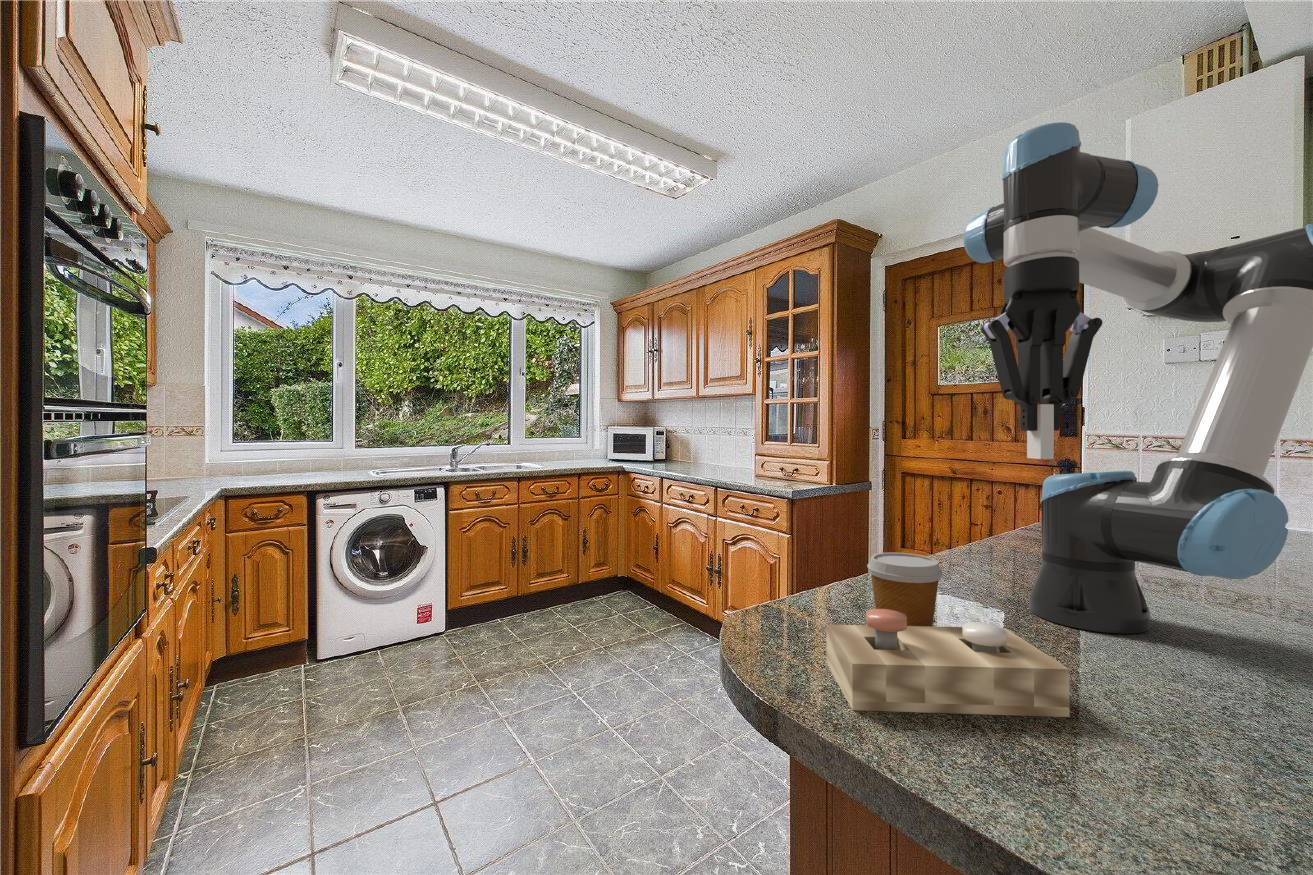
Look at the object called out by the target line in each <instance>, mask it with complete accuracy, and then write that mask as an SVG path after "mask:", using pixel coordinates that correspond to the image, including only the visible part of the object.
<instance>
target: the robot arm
mask: <svg viewBox="0 0 1313 875" xmlns="http://www.w3.org/2000/svg"><path fill="white" fill-rule="evenodd" d="M1081 146H1082V142H1081V138H1080V131H1079V129H1078V128H1077V127H1076V125H1075V124H1073V123H1069V122H1050V123H1046V124H1043V125H1042V124H1041V125H1038V126H1035V127H1032V128H1029V129H1028V130H1025V131H1024V132H1023V133H1020V134H1019V135H1017V136H1015V138H1013V139H1012V140H1011V141H1010V142H1009V143H1008V144H1007V146H1006V148H1005V151H1004V158H1003V169H1002V170H1003V172H1002V176H1001V180H1002V186H1003V189H1002V190H1003V191H1002V192H1003V202H1002V203H1001V204H998V205H995V206H992V207H989V209H988V210H986V211H984V212H982V213H980V214H978V215H976V216H974V217H973V218H972V219H970V220H969V221H968V222H967V224H966V226H965V228H964V233H963V238H962V239H963V240H962V241H963V247H964V250H965V252H966V253H967V255H968V256H969V257H970V259H972V260H973V261H975V262H976V263H979V264H985V263H986V264H987V263H991V262H998V261H1000V260H1001V259H1003V265H1004V266H1006V267H1007V268H1006V269H1005V270H1004V271H1003V273H1002V276H1003V283H1002V284H1003V286H1002V288H1003V298H1004V304H1003V306H1002V308H1001V309H1000V315H999V316H997V317H996V318H993V320H991V321H989V322H985V323H984V324H982V325H981V326H980V331H981V333H982V334H983V336H984V337H985V338H986V339H987V341H988V343H989V346H990V350H991V354H992V358H993V362H994V366H995V370H996V375H997V377H998V382H999V386H1000V389H1001V394H1002V397H1003V399H1005V400H1007V401H1008V400H1009V401H1012V402H1014V403H1015V404H1016V406H1017V405H1018V406H1019V407H1020V409H1019V410H1020V411H1019V412H1020V418H1019V419H1020V423H1019V424H1020V429H1021V431H1025V432H1026V459H1036V460H1054V457H1055V452H1054V451H1055V449H1054V446H1055V444H1054V442H1055V439H1054V438H1055V436H1054V435H1055V434H1054V433H1055V432H1056V431H1058V432H1059V431H1060V428H1061V405H1062V404H1065V403H1066V402H1067V401H1068V400H1071V399H1074V398H1075V399H1076V398H1078V397H1079V394H1080V392H1081V387H1082V384H1083V379H1084V376H1085V372H1086V367H1087V364H1088V359H1089V356H1090V352H1091V347H1092V344H1093V340H1094V337H1095V336H1096V334H1097V333H1098V332H1099V330H1100V329H1101V327H1102V325H1103V320H1102V319H1101V318H1100V317H1094V318H1091V317H1090V316H1088V315H1086V314H1084V313H1083V312H1082V306H1081V304H1080V302H1079V300H1078V298H1077V295H1078V291H1079V289H1080V283H1081V284H1083V285H1085V286H1089V287H1092V288H1095V289H1097V290H1100V291H1104V292H1107V293H1110V294H1112V295H1116V296H1119V297H1121V298H1122V299H1123V301H1124V302H1125V303H1126V304H1127V305H1128V306H1129V307H1131V308H1133V309H1135V310H1137V311H1141V312H1144V313H1147V314H1151V315H1155V316H1159V317H1164V318H1169V319H1175V320H1181V321H1187V322H1196V323H1223V322H1227V323H1228V324H1229V325H1230V327H1229V330H1228V331H1227V334H1226V337H1225V339H1224V341H1223V344H1222V346H1221V348H1220V351H1219V353H1218V355H1217V358H1216V361H1215V363H1214V366H1213V368H1212V370H1211V373H1210V375H1209V377H1208V379H1207V382H1206V385H1205V386H1204V389H1203V391H1202V395H1201V397H1200V400H1199V401H1198V404H1197V406H1196V409H1195V412H1194V414H1193V416H1192V419H1191V422H1190V424H1189V426H1188V429H1187V431H1186V434H1185V436H1184V438H1183V440H1182V443H1181V446H1180V448H1179V450H1178V453H1177V455H1176V456H1175V457H1172V458H1168V459H1165V460H1163V461H1161V462H1159V463H1158V465H1157V467H1156V469H1155V471H1154V474H1153V475H1152V478H1151V480H1150V481H1138V478H1137V477H1136V473H1135V472H1134V471H1132V470H1119V471H1117V470H1116V471H1100V472H1099V471H1098V472H1081V473H1080V472H1079V473H1078V472H1077V473H1063V474H1061V473H1060V474H1052V475H1049V476H1048V477H1046V478H1045V479H1044V481H1043V482H1042V491H1041V493H1042V494H1041V498H1040V504H1041V505H1040V506H1041V509H1040V510H1041V565H1040V568H1039V570H1038V573H1037V575H1036V578H1035V580H1034V583H1033V585H1032V588H1031V591H1030V593H1029V596H1028V608H1029V611H1030V612H1031V613H1033V615H1036V616H1037V617H1039V618H1042V619H1044V620H1047V621H1049V622H1052V623H1056V624H1058V625H1063V626H1066V627H1069V628H1074V629H1075V628H1076V629H1079V630H1084V631H1085V630H1086V631H1091V632H1098V633H1107V634H1110V633H1111V634H1123V635H1124V634H1125V635H1126V634H1127V635H1128V634H1130V635H1132V634H1141V633H1145V632H1148V631H1150V630H1151V625H1152V624H1151V622H1152V620H1151V618H1152V617H1151V611H1150V609H1149V607H1148V605H1147V601H1146V599H1145V596H1144V593H1143V591H1142V588H1141V586H1140V584H1139V581H1138V578H1137V575H1136V563H1137V562H1138V563H1142V564H1146V565H1153V566H1158V567H1162V568H1166V569H1171V570H1176V571H1182V572H1186V573H1189V574H1191V575H1195V576H1199V577H1214V578H1219V579H1220V578H1221V579H1226V580H1227V579H1228V580H1243V579H1244V580H1245V579H1248V578H1251V577H1253V576H1256V575H1259V574H1261V573H1262V572H1264V571H1265V570H1267V569H1269V567H1270V566H1272V564H1274V563H1275V561H1276V560H1277V558H1278V557H1279V555H1280V554H1281V553H1282V551H1283V548H1284V547H1285V544H1286V542H1287V541H1286V540H1287V538H1288V534H1289V529H1288V528H1286V525H1287V524H1288V523H1289V513H1288V511H1287V510H1288V509H1287V508H1286V505H1285V504H1284V502H1283V501H1282V500H1281V499H1280V498H1279V497H1278V496H1277V495H1276V494H1275V492H1276V490H1275V486H1274V485H1273V484H1272V483H1271V482H1270V481H1269V480H1268V479H1267V478H1266V477H1265V476H1264V474H1265V472H1266V469H1267V467H1268V464H1269V461H1270V459H1271V457H1272V453H1273V451H1274V450H1275V449H1274V448H1275V445H1276V443H1277V441H1278V438H1279V435H1280V433H1281V430H1282V428H1283V424H1284V423H1285V420H1286V417H1287V414H1288V412H1289V410H1290V407H1291V405H1292V401H1293V399H1294V397H1295V394H1296V392H1297V389H1298V386H1299V383H1300V381H1301V378H1302V376H1303V374H1304V371H1305V368H1306V366H1307V363H1308V361H1309V357H1310V355H1311V352H1312V351H1313V223H1309V224H1306V225H1305V227H1301V228H1297V229H1292V230H1289V231H1285V232H1281V233H1276V234H1274V235H1273V234H1272V235H1269V236H1268V235H1267V236H1266V237H1265V236H1264V237H1261V238H1257V239H1252V240H1249V241H1244V242H1241V243H1236V244H1232V245H1229V246H1225V247H1220V248H1216V249H1211V250H1207V251H1203V252H1197V253H1186V254H1185V253H1184V254H1183V253H1181V252H1178V251H1173V250H1164V251H1163V250H1162V251H1158V252H1156V251H1153V250H1151V249H1148V248H1146V247H1143V246H1142V245H1141V246H1140V245H1138V244H1136V243H1132V242H1130V241H1128V240H1124V239H1122V238H1119V237H1117V236H1114V235H1112V234H1109V233H1106V232H1103V231H1101V230H1098V229H1096V228H1095V227H1098V228H1100V229H1110V228H1116V229H1117V228H1122V227H1126V226H1129V225H1132V224H1133V223H1136V222H1137V221H1138V220H1139V219H1141V218H1142V217H1144V216H1145V215H1146V214H1147V213H1148V211H1149V210H1150V209H1151V208H1152V206H1153V205H1154V203H1155V201H1156V198H1157V196H1158V192H1159V187H1160V186H1159V180H1158V179H1159V178H1158V177H1157V175H1156V173H1155V172H1154V171H1153V170H1152V169H1151V168H1149V167H1148V166H1145V165H1140V164H1137V163H1135V162H1134V161H1132V160H1129V159H1128V160H1127V159H1118V158H1117V159H1116V158H1112V157H1106V156H1099V155H1094V154H1090V153H1088V152H1082V151H1081ZM1009 330H1010V331H1011V332H1012V334H1014V336H1015V349H1016V350H1017V358H1016V354H1015V350H1014V345H1013V343H1012V339H1011V336H1010V333H1009ZM1068 330H1069V331H1070V332H1071V334H1070V337H1069V339H1068V341H1067V332H1068ZM1066 343H1067V346H1066V349H1065V354H1064V347H1065V345H1066ZM1039 403H1040V404H1039Z"/></svg>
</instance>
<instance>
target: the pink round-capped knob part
mask: <svg viewBox="0 0 1313 875" xmlns="http://www.w3.org/2000/svg"><path fill="white" fill-rule="evenodd" d="M865 625H868V626H869V627H871V628H873V629H875V650H897V632H900V631H904V630H906V629H907V616H906V615H905V614H903V613H901V612H898V611H894V610H888V609H876V608H873V609H869V610H866V612H865Z"/></svg>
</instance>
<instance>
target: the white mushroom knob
mask: <svg viewBox="0 0 1313 875" xmlns="http://www.w3.org/2000/svg"><path fill="white" fill-rule="evenodd" d="M961 627H962V636H963V638H964V639H966V640H967V641H969V642H972V650H973V651H974V652H995V653H996V647H999V646H1004V645H1006V644H1007V631H1006V630H1005V629H1003V628H1004V627H1001V626H998V625H995V624H992V623H987V622H978V621H977V622H975V621H974V622H972V621H969V622H965V623H963V624H962V625H961Z"/></svg>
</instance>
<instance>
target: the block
mask: <svg viewBox="0 0 1313 875" xmlns="http://www.w3.org/2000/svg"><path fill="white" fill-rule="evenodd" d="M825 627H826V631H825V632H826V634H825V635H826V643H825V644H826V650H825V651H826V652H825V653H826V654H825V656H826V665H827V667H828V669H829V671H830V672H831V674H832V676H833V677H834V679H835V681H836V683H837V685H838V687H839V688H840V690H841V693H842V694H843V696H844V697H845V699H846V701H847V702H848V705H849V706H850V708H851V710H852V711H862V712H863V711H865V712H866V711H867V712H893V713H896V712H898V713H927V714H928V713H929V714H955V715H956V714H960V715H989V716H991V715H993V716H1022V717H1023V716H1024V717H1025V716H1027V717H1028V716H1029V717H1049V718H1050V717H1054V718H1065V717H1066V718H1070V668H1068V667H1067V666H1065V665H1064V664H1062V663H1060V662H1059V661H1058V660H1056V659H1054V658H1053V657H1052V656H1050V655H1048V654H1046V653H1045V652H1043V651H1042V650H1040V649H1038V648H1037V647H1036V646H1034V645H1033V644H1031V643H1029V642H1028V641H1026V640H1025V639H1024V638H1021V637H1020V636H1018V635H1017V634H1016V633H1014V632H1012V631H1011V630H1009V629H1008V628H1006V627H1002V628H1003V629H1005V630H1006V631H1007V644H1006V645H1004V646H999V647H996V653H995V652H974V651H973V650H972V642H969V641H967V640H966V639H964V638H963V636H962V626H933V625H932V626H907V629H906V630H904V631H900V632H897V650H875V629H873V628H871V627H869V626H868V625H867V624H829V623H828V624H826V626H825Z"/></svg>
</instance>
